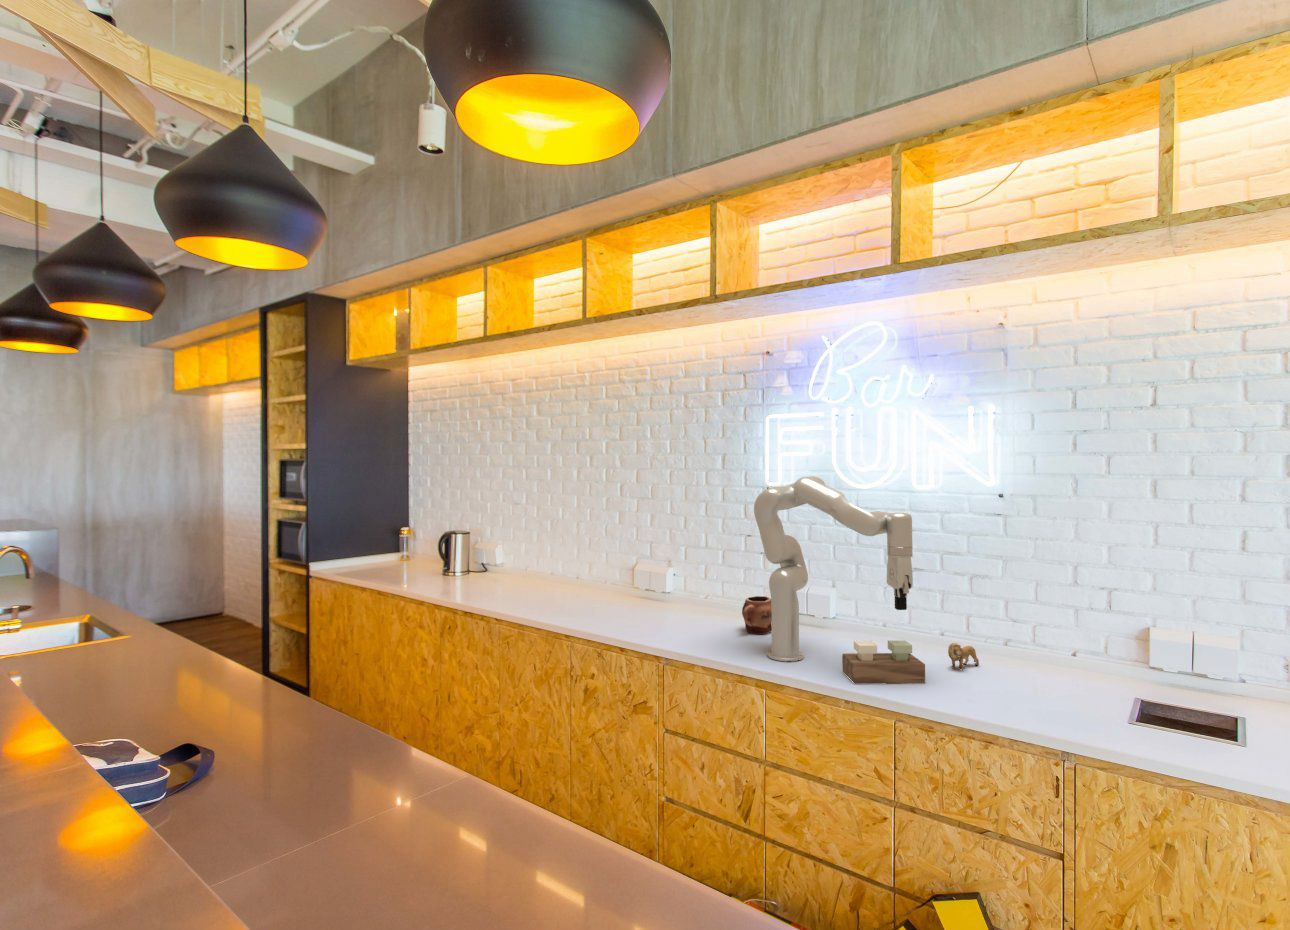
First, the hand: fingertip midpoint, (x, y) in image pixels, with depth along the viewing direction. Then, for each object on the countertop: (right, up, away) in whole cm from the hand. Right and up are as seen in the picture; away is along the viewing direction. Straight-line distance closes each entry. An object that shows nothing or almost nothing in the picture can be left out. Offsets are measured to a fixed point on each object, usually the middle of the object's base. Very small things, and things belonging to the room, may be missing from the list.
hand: (900, 609), depth 211 cm
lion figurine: (+25, -22, +10) cm, 34 cm away
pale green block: (0, -18, 0) cm, 18 cm away
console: (-6, -22, 0) cm, 23 cm away
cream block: (-11, -18, 0) cm, 21 cm away
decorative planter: (-36, -22, +56) cm, 70 cm away
